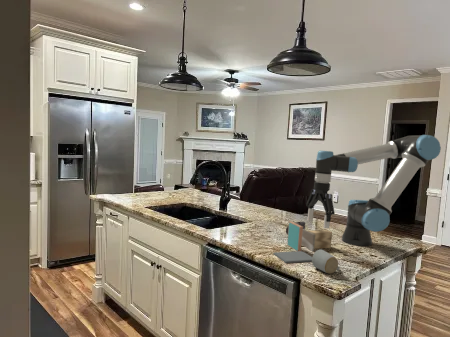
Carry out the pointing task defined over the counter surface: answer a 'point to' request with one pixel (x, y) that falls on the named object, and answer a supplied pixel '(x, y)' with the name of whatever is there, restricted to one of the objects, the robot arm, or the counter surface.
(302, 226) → the perforated stone tool
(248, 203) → the counter surface
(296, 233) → the terracotta tile
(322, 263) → the ceramic mug
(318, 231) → the tan rectangular block
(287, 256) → the slate mat
